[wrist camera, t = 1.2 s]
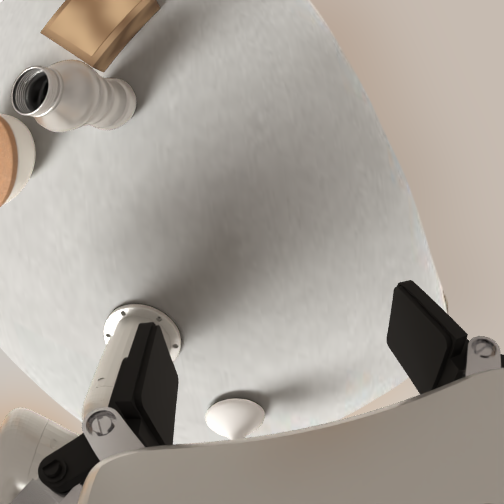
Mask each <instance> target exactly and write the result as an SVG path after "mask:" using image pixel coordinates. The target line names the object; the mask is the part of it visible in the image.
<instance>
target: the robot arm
mask: <svg viewBox="0 0 504 504" xmlns="http://www.w3.org/2000/svg"><path fill="white" fill-rule="evenodd" d="M467 335H468V334H467V333H466V332H465V331H464V330H463V329H462V328H461V327H460V326H459V325H458V324H457V323H456V322H455V321H454V320H453V319H452V318H451V317H450V316H449V315H448V314H447V313H446V312H445V311H444V310H443V309H442V308H441V307H440V306H439V305H438V304H437V303H436V302H434V301H433V300H432V299H431V298H430V297H429V296H428V295H427V294H426V293H425V292H424V291H423V290H422V289H421V288H420V287H419V286H418V285H416V284H415V283H414V282H413V281H412V280H409V281H404V282H400V283H398V285H397V287H395V288H394V293H393V301H392V308H391V315H390V321H389V327H388V333H387V344H388V346H389V348H390V349H391V351H392V352H393V354H394V355H395V357H396V358H397V360H398V361H399V363H400V364H401V366H402V367H403V369H404V370H405V372H406V373H407V375H408V376H409V378H410V379H411V381H412V382H413V384H414V385H415V387H416V388H417V390H418V392H419V393H420V395H418V396H416V397H413V398H410V399H407V400H404V401H401V402H398V403H396V404H393V405H390V406H387V407H383V408H380V409H377V410H374V411H370V412H367V413H364V414H360V415H357V416H353V417H350V418H346V419H342V420H338V421H334V422H330V423H326V424H321V425H317V426H312V427H308V428H303V429H298V430H293V431H288V432H282V433H276V434H270V435H264V436H257V437H250V438H242V439H234V440H224V441H215V442H204V443H190V444H175V445H173V434H174V422H175V411H176V401H177V392H178V375H177V372H176V370H175V367H174V364H173V361H175V359H176V358H177V357H178V355H179V352H180V348H181V336H180V332H179V330H178V328H177V326H176V325H175V323H174V322H173V321H172V320H171V319H170V318H169V317H168V316H167V315H166V314H164V313H163V312H161V311H159V310H157V309H155V308H153V307H150V306H147V305H142V304H128V305H124V306H121V307H119V308H117V309H115V310H114V311H113V312H112V313H111V314H110V315H109V316H108V318H107V320H106V322H105V325H104V339H105V341H106V344H107V345H106V347H105V350H104V352H103V354H102V357H101V359H100V362H99V364H98V367H97V369H96V372H95V374H94V377H93V379H92V382H91V385H90V387H89V390H88V392H87V395H86V398H85V400H84V403H83V408H82V420H83V422H82V430H83V434H81V435H79V434H77V433H74V432H72V431H71V430H69V429H67V428H65V427H63V426H61V425H59V424H57V423H55V422H53V421H52V420H49V419H47V418H46V417H44V416H42V415H40V414H39V413H37V412H35V411H32V410H30V409H27V408H16V409H14V410H12V411H11V412H10V413H9V414H8V415H7V416H6V418H5V419H4V421H3V423H2V425H1V427H0V504H504V355H502V354H500V348H499V346H498V344H497V343H496V342H495V341H494V340H492V339H490V338H488V337H484V336H478V337H474V338H472V339H471V340H470V341H469V340H468V339H467Z"/></svg>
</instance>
